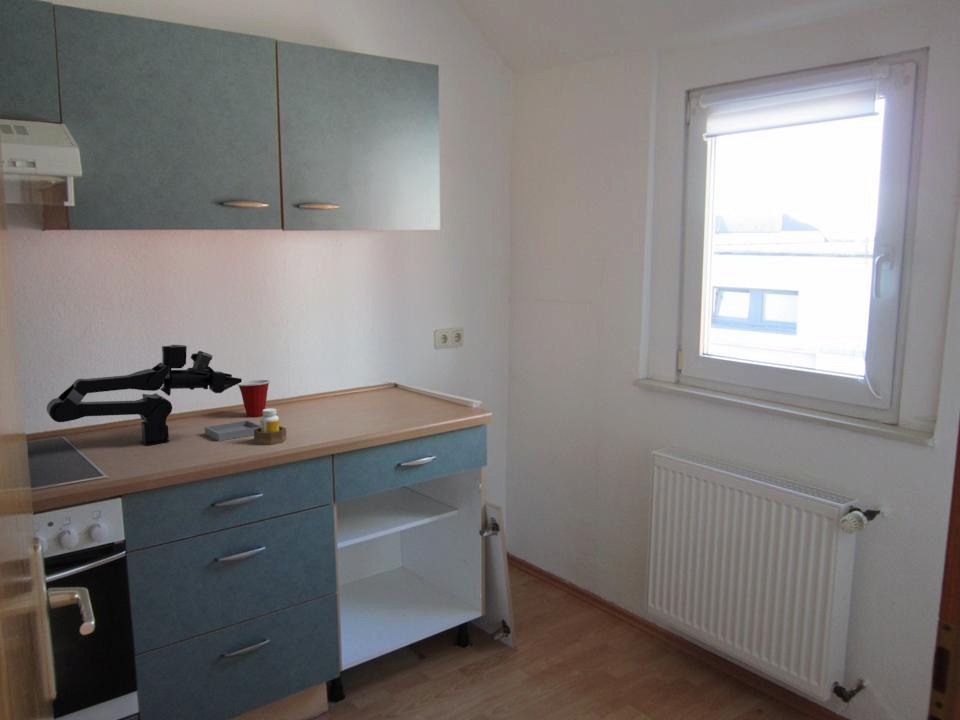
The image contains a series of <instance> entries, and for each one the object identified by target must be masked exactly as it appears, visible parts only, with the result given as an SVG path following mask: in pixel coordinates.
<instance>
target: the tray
mask: <svg viewBox="0 0 960 720" xmlns="http://www.w3.org/2000/svg"><path fill="white" fill-rule="evenodd" d="M260 427H261V424H258V423H255V422H253V421H250V420H248V419H246V420H239V421H235V422H234V421H233V422H228V423H220V424H214V425H209V426H204V434H205V435H206V436H208V437H210V438H212V439H214V440H216V441H218V442H222V441H221V440H223V441H228V440H227V439H229V440H234V439H233V438H235V439H239V438H238V437H241V438H245V436H247V437H251V435H252V436H254V430H256V429H257V428H260Z"/></svg>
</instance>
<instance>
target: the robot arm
mask: <svg viewBox="0 0 960 720" xmlns="http://www.w3.org/2000/svg"><path fill="white" fill-rule="evenodd" d="M187 347H188V346H187V345H186V344H185V345H183V344H170V345H162V346H161V352H162V361H161V362H159V363H157V364H156V365H154V366H153V367H152V368H146V369H142V370H139V371H136V372H133V373H130V374H126V375H115V376H113V375H112V376H107V377H106V376H105V377H103V376H102V377H93V378H77V379H76V380H75V381H73V383H72V384H71V385H70V386H69V387H68V388H66V390H63V392H62V393H61V394H60V395H59V396H58V397H57V398H52V399H50V401H49V402H48V403H47V405H46V407H45V408H46V414H47V415H49V417H50V418H51V419H52V420H53V421H54V422H56V423H66V422H70V421H71V422H72V421H75V420H78V419H81V418H85V417H102V416H103V417H105V416H129V415H130V416H131V415H138V416H140V419H141V420H142V421H141V422H140V427H141V439H140V440H139V441H140V442H141V443H142V444H144V445H145V446H151V445H157V444H164V443H169V442H170V440H169V425H167V418H168V416H169V415H170V414H171V413H172V411H173V404H172V403H171V402H170V400H168V399H167V398H165V397H164V396H162V395H160V394H158V393H153V394H146V393H142V398H139V399H136V400H114V401H113V400H112V401H111V400H109V401H108V400H107V401H82V400H83V399H84V398H85V396H87V394H90V393H91V394H93V393H103V392H104V393H105V392H112V391H114V392H115V391H122V390H123V391H124V390H139V391H148V392H149V391H151V392H155V391H159V390H160V391H162V392H163V393H164V394H165V395H167V396H169V397H170V396H171V393H172V392H171V390H178V389H179V390H183V389H184V390H185V389H189V390H191V391H192V390H193V391H194V390H195V389H203V390H208V389H209V390H210V391H211V392H213V393H214V394H222V393H224V391H226V390H228V389H230V388H232V387H234V386H238V385H237V384H239V383H241V382H243V381H242V380H243V379H242V378H240V377H233V376H232V374H231V373H226V372H223V371H218V370H217V371H215V370H214V369H213V368H212V367H210V366H209V365H210V362H211V360H213V355H212V354H210V353H208V352H205V351H203V350H198V351H197V353H191V356H190V360H192V362H193V363H192V364H193V365H192V367H188V368H186V369H183V368H184V367H185V366H186V365H187V349H188V348H187Z"/></svg>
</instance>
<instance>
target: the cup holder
mask: <svg viewBox="0 0 960 720" xmlns="http://www.w3.org/2000/svg"><path fill="white" fill-rule="evenodd" d="M253 439H254V443H255V442H256V444H257V445H265V444H270V445H271V446H272V445H277V443H278V444H283V443H284V442H286V440H287V428H286V427H283V426H281V425H279V431H276V432H261V427H260V428H257V429H256V430H254V435H253ZM265 446H266V445H265Z"/></svg>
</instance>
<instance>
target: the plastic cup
mask: <svg viewBox="0 0 960 720" xmlns="http://www.w3.org/2000/svg"><path fill="white" fill-rule="evenodd" d="M269 384H270V380H269V379H257V380H255V379H254V380H246V381H242V382H241V383H239V384H237V385H236V386H238V388H239V391H240V393H241V397H242V402H243V405H244V409H245V414H246V416H247V417H248V416H249V418H259V416H260V417H263V416H264V415H263V410H264V409H266V407H267V406H266V405H267V398H268V390H269Z"/></svg>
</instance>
